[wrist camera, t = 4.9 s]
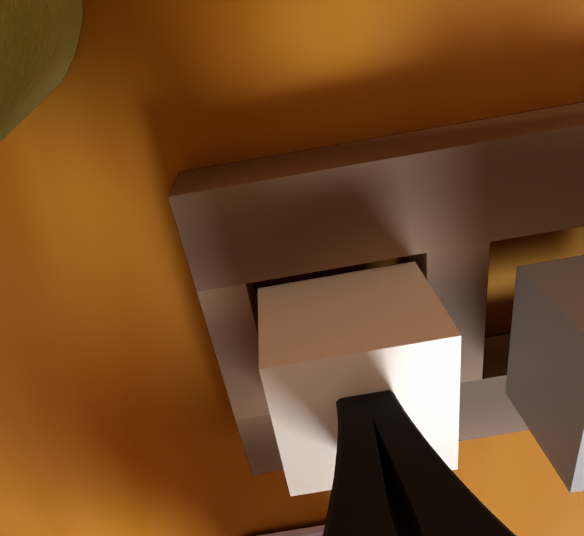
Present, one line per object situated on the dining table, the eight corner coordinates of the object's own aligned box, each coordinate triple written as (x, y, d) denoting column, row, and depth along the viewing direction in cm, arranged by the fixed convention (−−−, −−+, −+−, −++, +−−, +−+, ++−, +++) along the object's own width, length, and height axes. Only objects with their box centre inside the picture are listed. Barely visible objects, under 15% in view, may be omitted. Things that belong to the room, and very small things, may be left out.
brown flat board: (796, 342, 19) (851, 376, 17) (252, 432, 19) (252, 475, 17) (939, 40, 13) (1041, 45, 12) (178, 172, 14) (167, 197, 12)
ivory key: (418, 379, 16) (457, 468, 13) (283, 402, 16) (290, 496, 13) (414, 261, 14) (461, 335, 11) (257, 288, 14) (258, 369, 11)
